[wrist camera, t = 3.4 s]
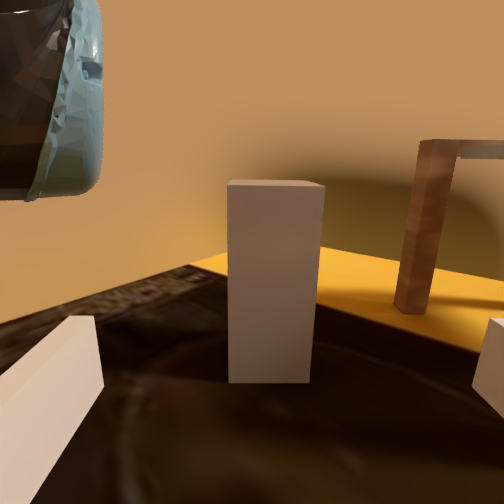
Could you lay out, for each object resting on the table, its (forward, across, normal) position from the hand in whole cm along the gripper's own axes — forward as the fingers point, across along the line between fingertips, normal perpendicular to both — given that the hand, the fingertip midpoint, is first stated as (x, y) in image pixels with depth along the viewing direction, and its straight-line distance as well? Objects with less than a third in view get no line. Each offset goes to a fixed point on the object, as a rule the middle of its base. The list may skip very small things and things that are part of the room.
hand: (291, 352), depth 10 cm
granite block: (+9, 0, -7) cm, 12 cm away
